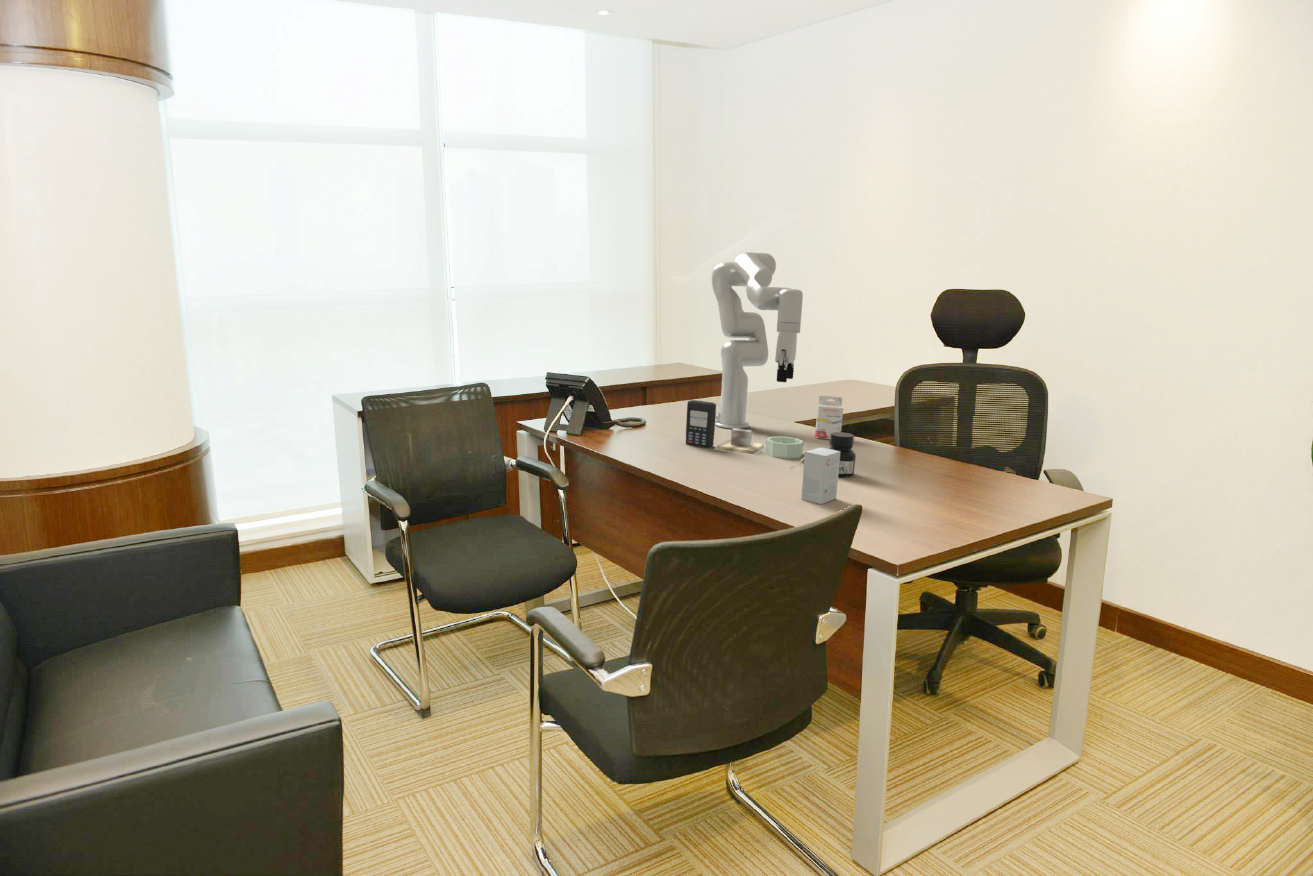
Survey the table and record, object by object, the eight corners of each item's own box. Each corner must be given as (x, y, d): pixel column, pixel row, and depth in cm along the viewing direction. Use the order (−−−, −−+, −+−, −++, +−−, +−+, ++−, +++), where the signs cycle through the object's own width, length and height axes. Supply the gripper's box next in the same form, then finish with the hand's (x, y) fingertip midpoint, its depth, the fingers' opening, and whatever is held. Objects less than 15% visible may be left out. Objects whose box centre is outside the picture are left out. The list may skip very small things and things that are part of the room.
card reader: (683, 445, 281) (685, 400, 278) (688, 443, 285) (691, 399, 282) (709, 449, 277) (711, 404, 274) (714, 447, 281) (716, 402, 277)
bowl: (762, 456, 271) (763, 441, 270) (771, 449, 281) (772, 435, 280) (796, 461, 267) (797, 445, 266) (804, 454, 277) (806, 439, 276)
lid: (717, 449, 276) (718, 430, 275) (729, 442, 287) (730, 424, 286) (752, 454, 272) (754, 435, 271) (763, 447, 283) (764, 429, 281)
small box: (815, 493, 231) (820, 446, 228) (836, 498, 227) (841, 451, 225) (800, 499, 225) (804, 451, 222) (821, 504, 221) (826, 455, 218)
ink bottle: (819, 475, 251) (823, 435, 249) (824, 468, 259) (828, 430, 257) (853, 479, 248) (857, 439, 245) (857, 473, 256) (861, 433, 254)
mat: (712, 450, 276) (713, 449, 276) (727, 442, 289) (727, 441, 288) (754, 456, 271) (754, 455, 270) (767, 448, 283) (767, 446, 283)
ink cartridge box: (815, 438, 302) (819, 397, 299) (814, 435, 307) (818, 395, 304) (840, 440, 301) (844, 399, 298) (839, 437, 306) (842, 396, 303)
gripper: (783, 325, 287) (779, 376, 290) (771, 328, 271) (767, 382, 275) (805, 327, 284) (801, 378, 288) (794, 330, 269) (790, 384, 272)
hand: (784, 380), depth 281 cm, fingers open, 9 cm apart
